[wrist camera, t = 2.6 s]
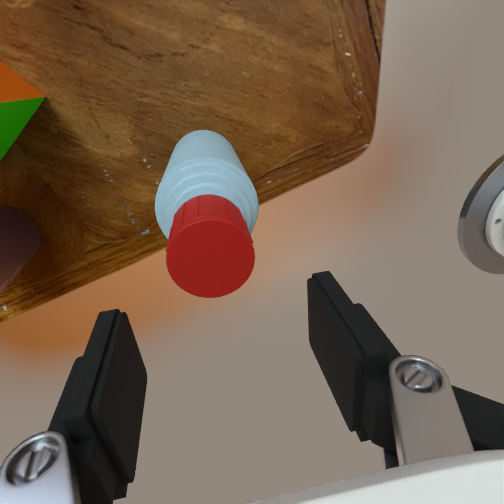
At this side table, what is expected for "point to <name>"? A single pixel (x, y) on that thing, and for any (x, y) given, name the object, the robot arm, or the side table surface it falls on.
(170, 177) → the bottle
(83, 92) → the side table surface
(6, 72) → the cube
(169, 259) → the cap
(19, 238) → the beverage can
